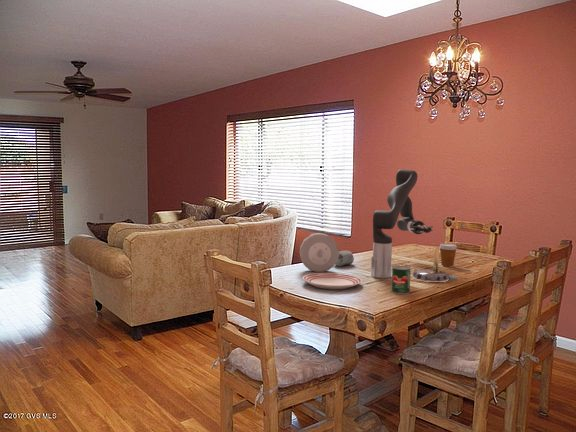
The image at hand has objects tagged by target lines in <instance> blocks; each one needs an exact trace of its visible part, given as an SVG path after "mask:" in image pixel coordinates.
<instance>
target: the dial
mask: <svg viewBox="0 0 576 432" xmlns="http://www.w3.org/2000/svg"><path fill="white" fill-rule="evenodd" d="M339 252H340V251H339V247H338V245H337V242H336V241H335V239H334V238H332V237H331V236H330V235H328V234H326V233H322V232H315V233H310V234H309V235H307V236H306V237H305V238H304V239H303V240H302V242H301V244H300V246H299V257H300V260H301V262H302V264H303V265H304V267H305V268H306V269H307V270H309V271H311V272H313V273H326V272H327V271H330V270H331V269H332V268H334V266H336V265H335V264H336V262H337V260H338V256H339Z"/></svg>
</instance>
